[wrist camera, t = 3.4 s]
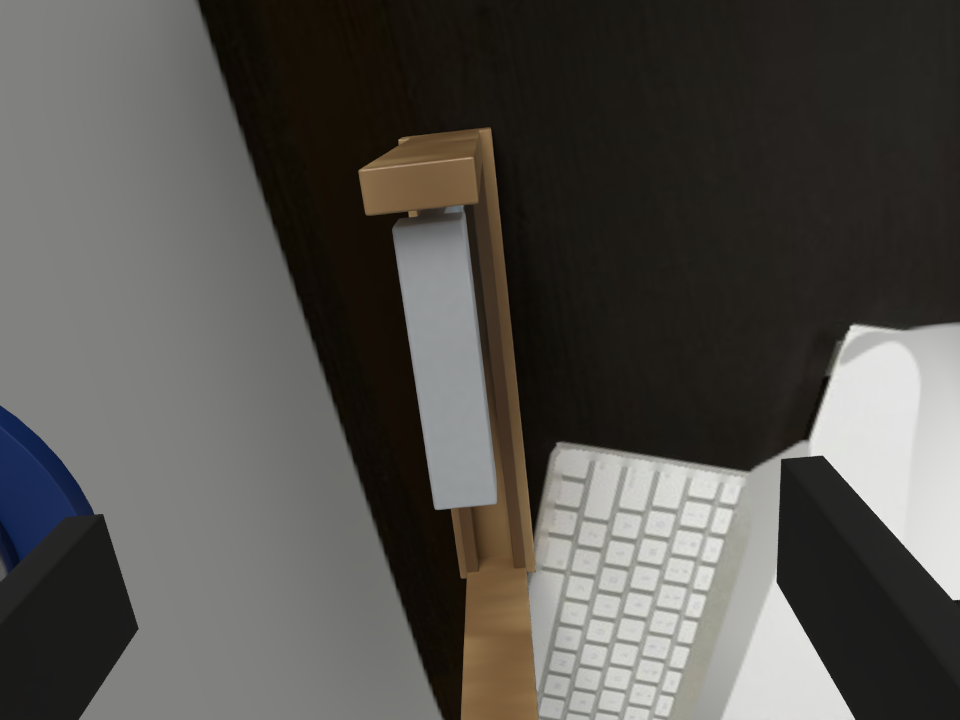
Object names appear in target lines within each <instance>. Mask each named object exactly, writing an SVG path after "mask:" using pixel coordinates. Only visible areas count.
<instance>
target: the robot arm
mask: <svg viewBox="0 0 960 720" xmlns="http://www.w3.org/2000/svg"><path fill="white" fill-rule="evenodd" d="M780 481H781V482H780V506H779V507H780V508H779V532H778V558H777V584H778V585H779V587H780V589H781V591H782V592H783V594H784V596H785V598H786V599H787V601H788V603H789V605H790V606H791V608H792V610H793V612H794V613H795V615H796V617H797V619H798V620H799V622H800V624H801V626H802V627H803V629H804V631H805V632H806V634H807V636H808V638H809V639H810V641H811V643H812V645H813V646H814V648H815V650H816V652H817V653H818V655H819V657H820V659H821V660H822V662H823V664H824V666H825V667H826V669H827V671H828V673H829V674H830V676H831V678H832V679H833V681H834V683H835V685H836V686H837V688H838V690H839V692H840V693H841V695H842V697H843V699H844V700H845V702H846V704H847V706H848V707H849V709H850V711H851V713H852V714H853V716H854V718H855V720H960V600H952V599H951V598H950V596H948V594H947V593H946V592H945V591H944V590H943V589H942V588H941V587H940V585H939V584H938V583H937V582H936V581H935V580H934V579H933V578H932V577H931V575H930V574H929V573H928V572H927V571H926V570H925V569H924V568H923V567H922V565H921V564H920V563H919V562H918V561H917V560H916V559H915V558H914V556H912V554H911V553H910V552H909V551H908V550H907V549H906V548H905V546H904V545H903V544H902V543H901V542H900V541H899V540H898V539H897V538H896V536H895V535H894V534H893V533H892V532H891V531H890V530H889V529H888V528H887V526H886V525H885V524H884V523H883V522H882V521H881V520H880V519H879V518H878V516H877V515H876V514H875V513H874V512H873V511H872V510H871V509H870V508H869V506H868V505H867V504H866V503H865V502H864V501H863V500H862V499H861V498H860V496H859V495H858V494H857V493H856V492H855V491H854V490H853V489H852V488H851V486H850V485H849V484H848V483H847V482H846V481H845V480H844V479H843V478H842V476H841V475H840V474H839V473H838V472H837V471H836V470H835V469H834V468H833V466H832V465H831V464H830V463H829V462H828V461H827V460H826V459H825V458H824V456H813V457H802V458H789V459H781V480H780ZM137 630H138V625H137V622H136V619H135V615H134V612H133V609H132V606H131V603H130V600H129V596H128V593H127V590H126V586H125V583H124V580H123V577H122V574H121V570H120V567H119V564H118V561H117V558H116V555H115V551H114V548H113V545H112V542H111V539H110V535H109V532H108V529H107V525H106V522H105V519H104V516H103V514H98V515H86V516H73V517H65V518H64V519H63V520H62V521H61V522H60V523H59V524H58V525H57V526H56V527H55V528H54V529H53V530H52V531H51V532H50V533H49V534H48V535H47V536H46V537H45V538H44V539H43V540H42V541H41V542H40V543H39V544H38V545H37V546H36V547H35V548H34V549H33V550H32V551H31V552H30V553H29V554H28V555H27V556H26V557H25V558H24V559H23V560H22V561H21V562H20V561H19V558H18V555H17V552H16V550H15V548H14V545H13V543H12V541H11V539H10V537H9V535H8V534H7V532H6V530H5V528H4V527H3V525H2V524H1V522H0V720H79V718H80V717H81V715H82V714H83V712H84V711H85V709H86V708H87V706H88V705H89V703H90V702H91V700H92V698H93V697H94V696H95V694H96V692H97V691H98V689H99V688H100V686H101V685H102V683H103V682H104V680H105V679H106V677H107V676H108V674H109V673H110V671H111V670H112V668H113V666H114V665H115V664H116V662H117V661H118V659H119V658H120V656H121V654H122V653H123V651H124V650H125V649H126V647H127V645H128V644H129V642H130V641H131V639H132V638H133V636H134V635H135V633H136V632H137Z"/></svg>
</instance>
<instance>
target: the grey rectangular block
mask: <svg viewBox="0 0 960 720" xmlns="http://www.w3.org/2000/svg"><path fill="white" fill-rule="evenodd" d="M392 232H393V239H394V246H395V252H396V259H397V265H398V272H399V279H400V285H401V292H402V298H403V305H404V311H405V318H406V325H407V331H408V338H409V344H410V351H411V358H412V364H413V371H414V377H415V384H416V391H417V397H418V404H419V410H420V417H421V424H422V430H423V437H424V443H425V450H426V457H427V463H428V470H429V476H430V483H431V490H432V496H433V503H434V508H435V509H436V510H442V509H452V508H463V507H474V506H485V505H495V504H496V503H497V479H496V470H495V462H494V453H493V445H492V436H491V428H490V419H489V411H488V402H487V394H486V385H485V377H484V368H483V360H482V351H481V343H480V334H479V326H478V317H477V309H476V300H475V292H474V283H473V275H472V266H471V258H470V249H469V241H468V232H467V224H466V215H465V207H464V205H461V206H452V207H443V208H434V209H425V210H422V211H421V213H420V215H419V216H417V217H408V218H400V219H399V220H398V221H397V223H396V224H395V225H394V227H393V229H392Z"/></svg>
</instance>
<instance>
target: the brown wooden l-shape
mask: <svg viewBox="0 0 960 720" xmlns="http://www.w3.org/2000/svg"><path fill="white" fill-rule="evenodd" d="M398 143H399V146H397V147H396V148H394V149H392V150H391V151H389V152H388V153H386V154H384V155H383V156H381V157H379V158H378V159H376V160H375V161H373V162H371V163H370V164H368V165H367V166H365V167H363V168H362V169H360V170H359V178H360V184H361V190H362V196H363V202H364V209H365V214H366V215H367V216H371V215H380V214H389V213H398V212H407V211H408V213H409V217H417V216H419V215H420V213H421V211H422V210H425V209H434V208H443V207H452V206H461V205H464V207H465V215H466V224H467V232H468V241H469V249H470V258H471V266H472V275H473V283H474V292H475V300H476V309H477V317H478V326H479V334H480V343H481V351H482V360H483V368H484V377H485V385H486V394H487V402H488V411H489V419H490V428H491V436H492V445H493V453H494V462H495V470H496V479H497V503H496V504H495V505H485V506H474V507H463V508H452V509H451V513H452V520H453V527H454V534H455V541H456V548H457V555H458V562H459V569H460V576H461V578H467V587H466V611H465V635H464V659H463V683H462V706H461V720H539V714H538V702H537V690H536V678H535V666H534V653H533V641H532V629H531V617H530V604H529V592H528V580H527V573H530V572H536V563H535V553H534V543H533V534H532V524H531V514H530V504H529V494H528V485H527V475H526V465H525V455H524V446H523V436H522V426H521V416H520V406H519V397H518V387H517V377H516V367H515V358H514V348H513V338H512V328H511V318H510V309H509V299H508V289H507V279H506V270H505V260H504V250H503V240H502V231H501V221H500V211H499V201H498V191H497V182H496V172H495V162H494V152H493V143H492V133H491V128H490V127H487V128H479V129H470V130H462V131H453V132H444V133H436V134H427V135H419V136H410V137H403V138H401V139H399V140H398Z"/></svg>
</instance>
